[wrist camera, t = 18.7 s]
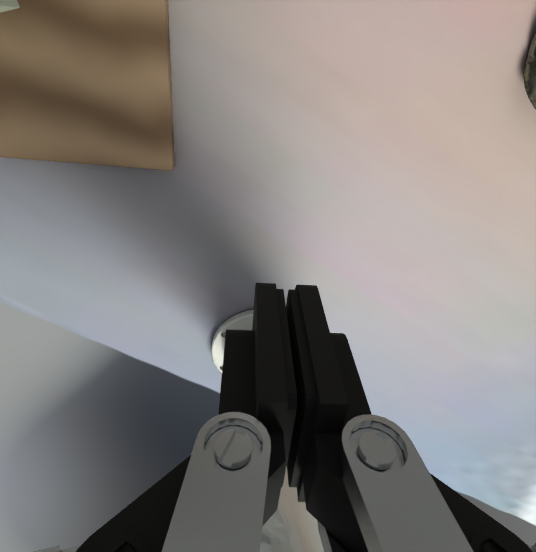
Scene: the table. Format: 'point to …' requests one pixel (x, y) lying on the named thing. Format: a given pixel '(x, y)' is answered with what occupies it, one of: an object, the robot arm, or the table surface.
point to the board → (87, 82)
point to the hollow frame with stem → (8, 5)
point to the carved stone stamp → (531, 73)
